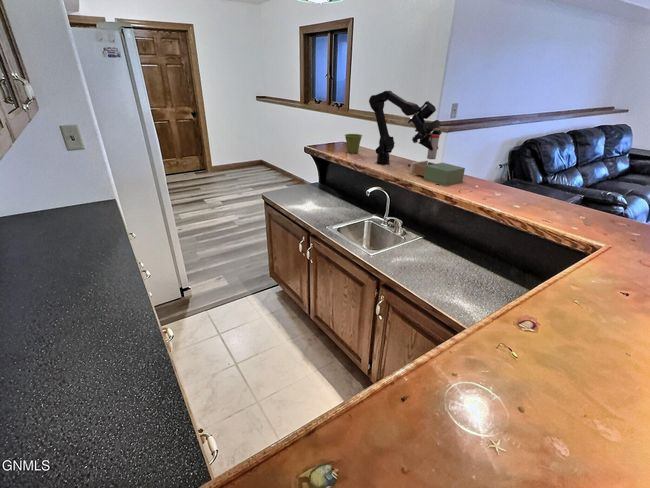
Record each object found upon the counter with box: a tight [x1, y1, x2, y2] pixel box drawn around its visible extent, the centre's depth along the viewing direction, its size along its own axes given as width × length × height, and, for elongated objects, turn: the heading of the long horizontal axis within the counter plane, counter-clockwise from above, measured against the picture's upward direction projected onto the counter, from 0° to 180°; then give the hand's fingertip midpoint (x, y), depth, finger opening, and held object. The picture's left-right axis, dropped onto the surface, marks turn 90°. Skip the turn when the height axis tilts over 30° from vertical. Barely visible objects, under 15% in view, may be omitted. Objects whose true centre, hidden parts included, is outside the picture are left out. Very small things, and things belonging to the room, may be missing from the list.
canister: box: [426, 134, 441, 160], centre depth 181 cm, size 5×5×12 cm
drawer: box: [407, 160, 436, 177], centre depth 185 cm, size 17×12×5 cm
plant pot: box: [344, 133, 363, 154], centre depth 234 cm, size 12×12×11 cm
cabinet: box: [423, 162, 466, 187], centre depth 176 cm, size 14×14×7 cm
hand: (435, 149), depth 181 cm, fingers closed on canister, 4 cm apart
